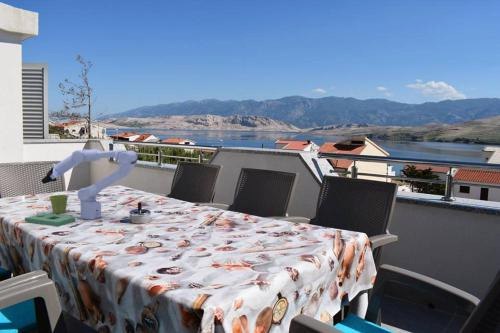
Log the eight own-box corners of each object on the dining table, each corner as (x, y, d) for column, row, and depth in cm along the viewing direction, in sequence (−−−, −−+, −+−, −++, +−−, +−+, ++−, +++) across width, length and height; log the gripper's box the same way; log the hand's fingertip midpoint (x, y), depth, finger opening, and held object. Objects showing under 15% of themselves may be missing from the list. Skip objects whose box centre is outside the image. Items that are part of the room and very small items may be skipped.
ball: (46, 215, 194) (46, 208, 193) (40, 217, 191) (40, 210, 190) (40, 215, 195) (40, 208, 195) (34, 216, 192) (34, 209, 191)
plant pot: (54, 215, 204) (54, 198, 203) (46, 212, 209) (45, 196, 208) (72, 212, 211) (72, 196, 210) (63, 209, 217) (63, 194, 216)
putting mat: (75, 221, 193) (75, 217, 193) (57, 226, 183) (57, 222, 182) (43, 216, 199) (43, 213, 199) (24, 221, 189) (24, 217, 189)
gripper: (64, 153, 205) (44, 166, 207) (55, 165, 192) (34, 179, 194) (74, 163, 208) (54, 176, 210) (65, 176, 195) (44, 189, 197)
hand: (45, 178), depth 202 cm, fingers open, 7 cm apart
